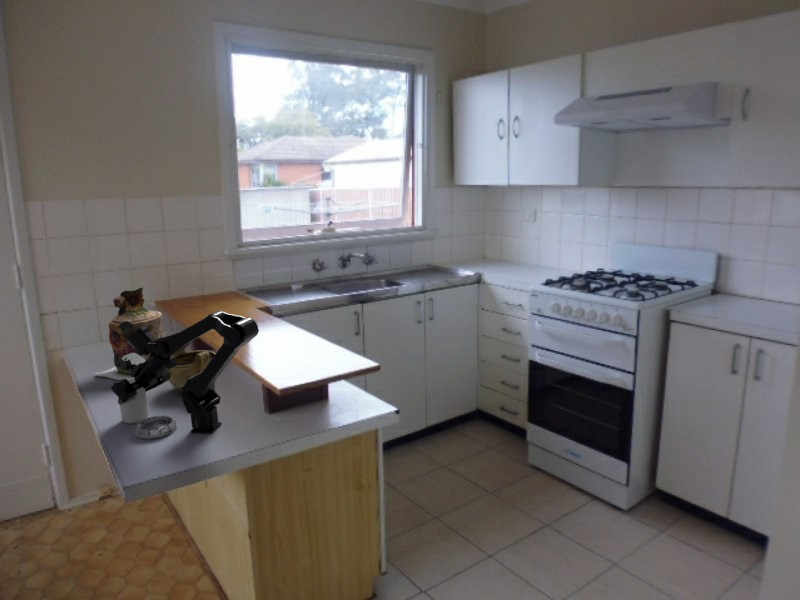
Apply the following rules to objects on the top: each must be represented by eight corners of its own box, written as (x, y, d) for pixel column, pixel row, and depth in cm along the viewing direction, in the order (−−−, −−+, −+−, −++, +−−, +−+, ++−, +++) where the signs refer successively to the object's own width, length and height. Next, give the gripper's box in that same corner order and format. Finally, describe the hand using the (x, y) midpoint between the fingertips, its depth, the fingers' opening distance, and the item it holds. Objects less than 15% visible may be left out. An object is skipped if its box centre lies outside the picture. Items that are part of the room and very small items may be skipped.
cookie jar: (146, 357, 241) (135, 278, 234) (192, 363, 230) (182, 282, 223) (92, 377, 219) (78, 292, 212) (140, 386, 209) (127, 296, 202)
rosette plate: (183, 423, 176) (182, 415, 176) (163, 440, 166) (161, 432, 165) (149, 422, 178) (148, 414, 178) (127, 439, 168) (125, 430, 167)
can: (141, 412, 186) (136, 375, 183) (154, 418, 181) (148, 380, 178) (117, 420, 180) (111, 383, 177) (130, 427, 175) (124, 388, 173)
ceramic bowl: (155, 387, 206) (150, 346, 203) (201, 374, 218) (196, 334, 215) (186, 403, 191) (181, 359, 188) (234, 388, 203) (229, 345, 199)
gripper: (158, 336, 183) (134, 368, 189) (110, 356, 165) (86, 390, 172) (182, 363, 182) (157, 394, 188) (137, 385, 165) (111, 418, 171)
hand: (129, 398), depth 180 cm, fingers closed on can, 7 cm apart
